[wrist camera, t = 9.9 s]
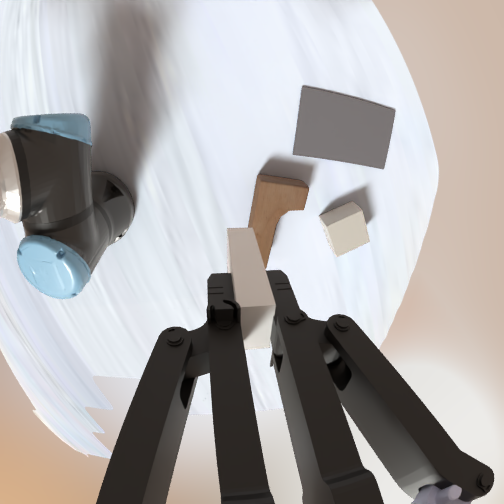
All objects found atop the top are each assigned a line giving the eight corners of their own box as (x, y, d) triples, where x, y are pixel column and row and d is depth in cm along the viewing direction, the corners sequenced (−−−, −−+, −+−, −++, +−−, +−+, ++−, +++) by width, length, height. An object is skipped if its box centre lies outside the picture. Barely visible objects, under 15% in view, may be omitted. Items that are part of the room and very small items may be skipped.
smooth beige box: (328, 244, 60) (336, 257, 56) (318, 215, 56) (326, 226, 51) (359, 230, 59) (369, 241, 54) (351, 200, 55) (362, 210, 50)
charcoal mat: (292, 154, 48) (293, 154, 48) (301, 86, 41) (302, 86, 41) (382, 168, 51) (383, 169, 51) (394, 110, 44) (395, 110, 44)
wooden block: (310, 188, 47) (287, 271, 56) (303, 180, 51) (283, 259, 60) (260, 180, 46) (244, 268, 55) (257, 173, 49) (242, 255, 59)
